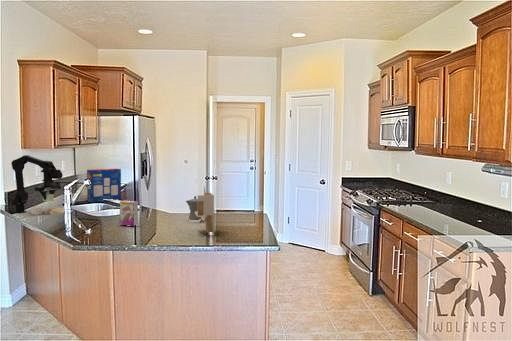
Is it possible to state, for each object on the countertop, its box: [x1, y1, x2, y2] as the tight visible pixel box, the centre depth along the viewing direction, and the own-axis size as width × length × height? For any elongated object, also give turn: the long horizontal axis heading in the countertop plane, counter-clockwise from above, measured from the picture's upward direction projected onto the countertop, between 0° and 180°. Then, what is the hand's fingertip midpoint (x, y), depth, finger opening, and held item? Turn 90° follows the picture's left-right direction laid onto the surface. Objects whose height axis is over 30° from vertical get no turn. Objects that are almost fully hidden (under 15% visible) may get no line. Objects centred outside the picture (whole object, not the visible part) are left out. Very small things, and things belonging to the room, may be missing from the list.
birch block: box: [44, 206, 65, 216], centre depth 319 cm, size 10×10×4 cm
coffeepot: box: [185, 195, 202, 220], centre depth 300 cm, size 15×9×18 cm, turn 107°
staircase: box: [195, 186, 215, 234], centre depth 265 cm, size 10×16×29 cm, turn 16°
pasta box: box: [86, 168, 122, 203], centre depth 384 cm, size 28×8×28 cm, turn 135°
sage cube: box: [42, 193, 55, 203], centre depth 313 cm, size 5×5×5 cm
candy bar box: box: [119, 200, 139, 226], centre depth 280 cm, size 11×5×16 cm, turn 71°
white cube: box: [30, 206, 43, 216], centre depth 315 cm, size 5×5×5 cm
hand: (48, 199), depth 313 cm, fingers closed on sage cube, 5 cm apart
